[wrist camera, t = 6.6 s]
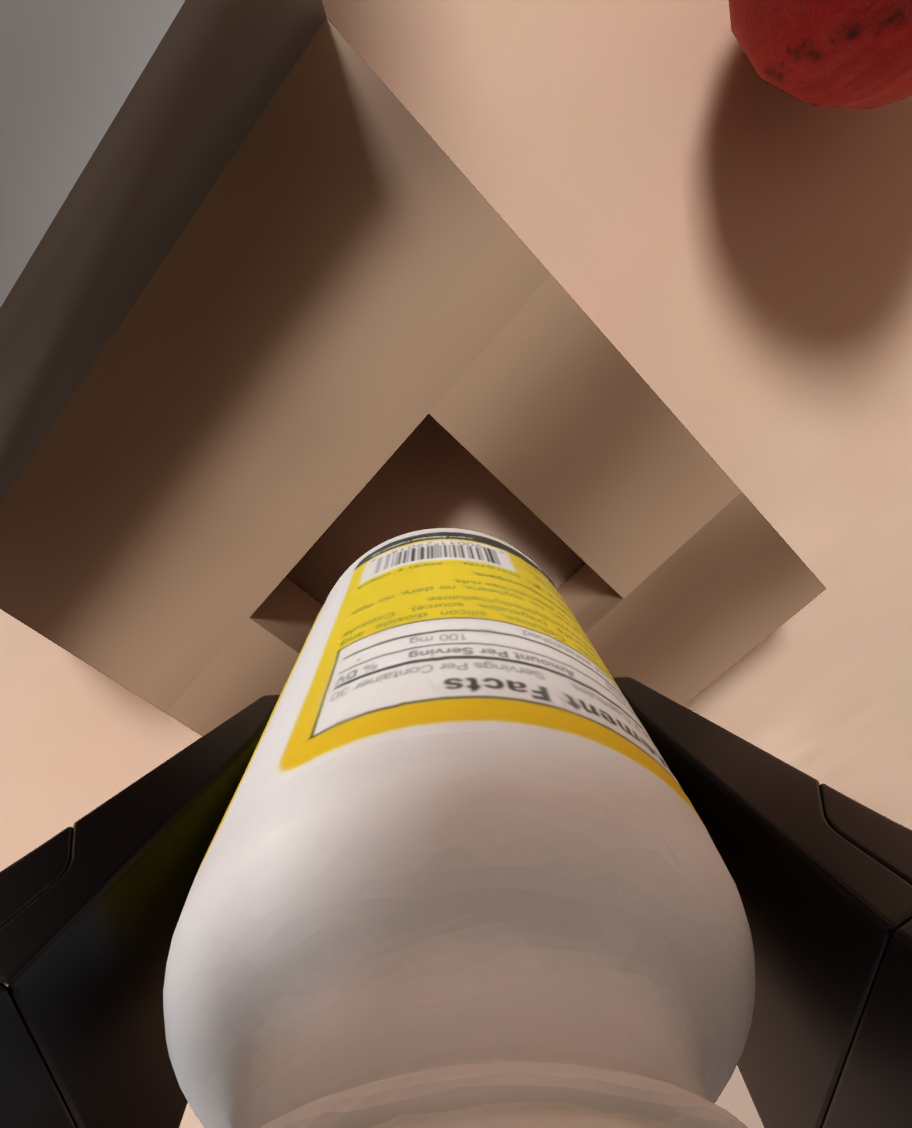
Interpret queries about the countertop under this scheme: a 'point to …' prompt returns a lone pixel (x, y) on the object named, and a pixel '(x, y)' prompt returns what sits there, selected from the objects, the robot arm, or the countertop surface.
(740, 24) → the onion
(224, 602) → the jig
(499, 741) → the supplement bottle
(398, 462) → the countertop surface
